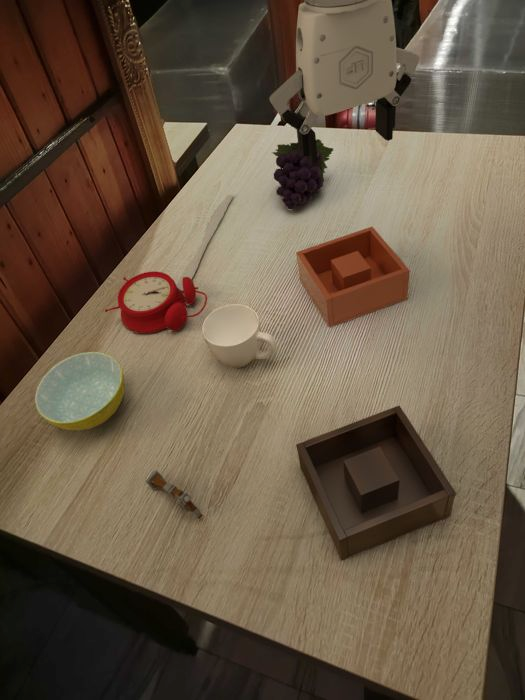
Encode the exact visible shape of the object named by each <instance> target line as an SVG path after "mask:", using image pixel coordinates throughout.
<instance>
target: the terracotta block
mask: <svg viewBox="0 0 525 700" xmlns="http://www.w3.org/2000/svg"><path fill="white" fill-rule="evenodd" d="M331 270H332V282H333V284H334V285H335V287H336V288H337V290H338V291H341V290H344V289H347V288H350V287H352V286H355V285H358V284H361V283H364V282H367V281H370V280H371V267H370V266H369V265H368V264H367V262H366V261H365V260H364V258H363V257H362V256H361V254H360V253H359V252H358V251H356V252H353V253H350V254H347V255H344V256H341V257H339V258H336V259H333V260H331Z"/></svg>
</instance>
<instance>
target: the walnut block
mask: <svg viewBox="0 0 525 700" xmlns="http://www.w3.org/2000/svg"><path fill="white" fill-rule="evenodd" d="M343 463H344V477H345V481H346V483H347V485H348V487H349V489H350V491H351V493H352V495H353V497H354V499H355V501H356V503H357V505H358V507H359V509H360V511H361V513H363V512H365V511H368V510H370V509H373V508H375V507H378V506H380V505H383V504H385V503H388V502H390V501H393V500H395V499H398V493H399V482H400V479H399V478H398V476H397V474H396V472H395V471H394V469H393V467H392V466H391V464H390V462H389V460H388V459H387V457H386V455H385V453H384V452H383V450H382V448H381V447H380V446H379V447H377V448H374V449H371V450H369V451H366V452H364V453H361V454H359V455H356V456H353V457H351V458H348V459H346V460H343Z"/></svg>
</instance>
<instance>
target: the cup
mask: <svg viewBox="0 0 525 700" xmlns="http://www.w3.org/2000/svg"><path fill="white" fill-rule="evenodd" d="M261 327H262V326H261V321H260V317H259V315H258V313H257V312H256V311H255V310H254V308H252V307H250V306H248V305H245V304H242V303H241V304H240V303H229V304H226V305H225V304H224V305H222V306H220V307H217V308H215V309H214V310H212V311H211V312H210V313H209V314H208V315H207V316H206V317H205V319H204V320H203V323H202V326H201V331H202V336H203V338H204V342H205V344H206V346H207V349H208V350H209V352H210V353H211V354H212V355H213V357H215V359H217V361H219V362H220V363H222V364H223V365H225V366H227V367H231V368H234V369H235V368H237V369H239V368H243V367H246V366H248V365H250V363H252V361H254V360H257V359H258V360H265V359H267V358H270V357H271V356H273V355H274V353H275V352H276V351H277V342H276V340H275V338H274V337H273V335H271V334H269V333H267V332H265V331H262V328H261ZM262 341H264V342H266V344H267V345H268V347H269V348H268V349H267V350H265V351H260V348H261V343H262Z"/></svg>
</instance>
